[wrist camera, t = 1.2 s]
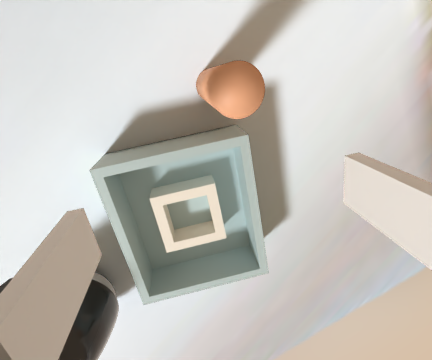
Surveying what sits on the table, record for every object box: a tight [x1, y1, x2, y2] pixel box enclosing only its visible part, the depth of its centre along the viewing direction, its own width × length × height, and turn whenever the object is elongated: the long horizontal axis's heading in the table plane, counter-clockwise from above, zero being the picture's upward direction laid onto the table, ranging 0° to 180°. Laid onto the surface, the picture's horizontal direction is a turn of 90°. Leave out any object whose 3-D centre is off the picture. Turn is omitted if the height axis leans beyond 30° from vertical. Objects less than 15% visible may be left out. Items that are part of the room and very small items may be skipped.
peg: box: [196, 61, 265, 119], centre depth 24 cm, size 4×4×14 cm
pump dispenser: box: [58, 273, 119, 360], centre depth 31 cm, size 10×10×15 cm
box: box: [90, 125, 269, 305], centre depth 32 cm, size 18×16×6 cm
